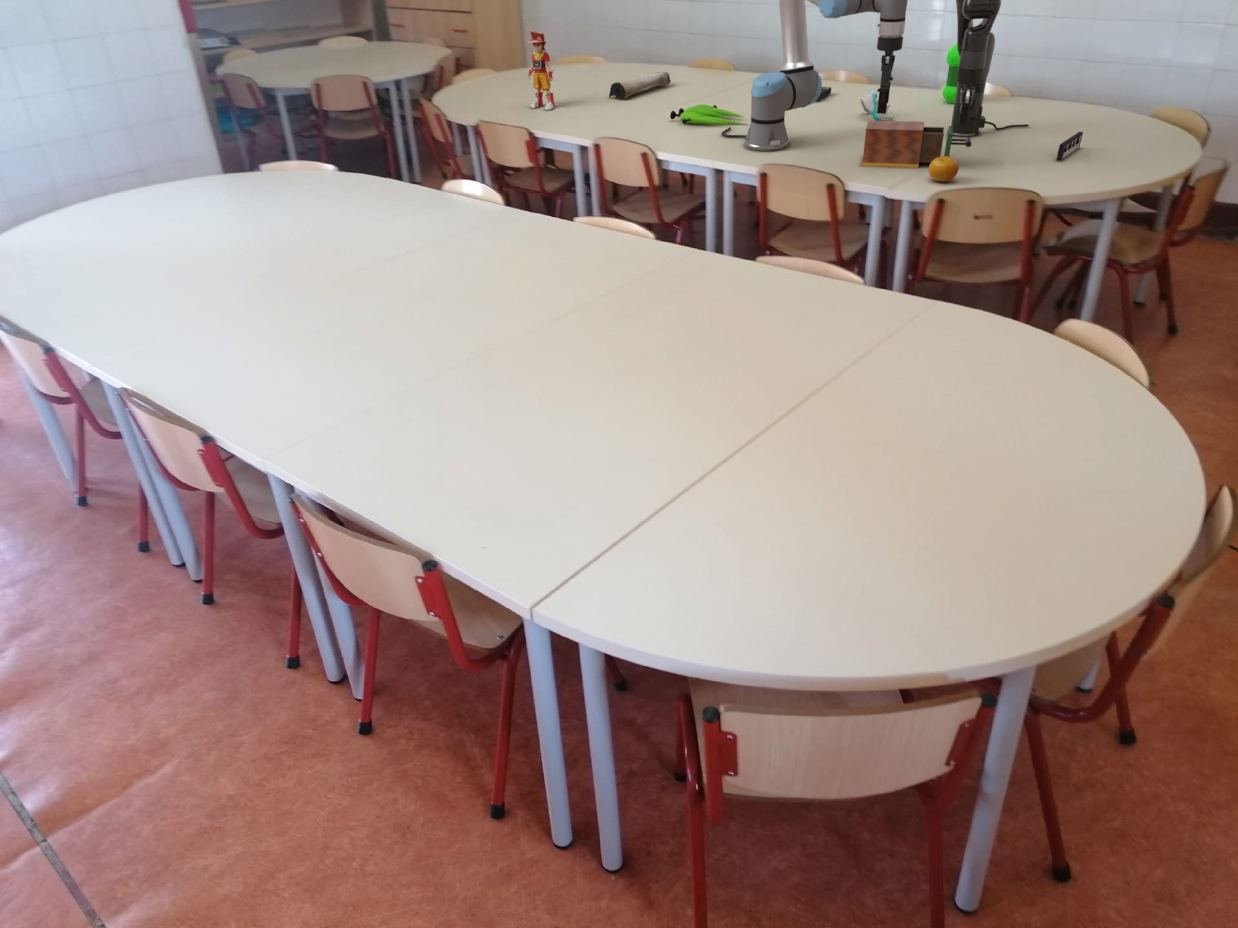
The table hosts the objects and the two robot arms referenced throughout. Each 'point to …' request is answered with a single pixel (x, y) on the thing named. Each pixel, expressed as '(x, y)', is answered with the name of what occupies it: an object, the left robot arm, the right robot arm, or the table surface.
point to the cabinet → (893, 143)
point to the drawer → (937, 143)
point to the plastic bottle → (952, 75)
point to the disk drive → (824, 92)
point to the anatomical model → (874, 106)
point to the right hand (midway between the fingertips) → (962, 124)
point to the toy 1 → (541, 71)
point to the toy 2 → (704, 115)
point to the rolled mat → (638, 84)
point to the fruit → (943, 169)
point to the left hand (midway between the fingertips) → (882, 108)
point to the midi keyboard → (1069, 145)
